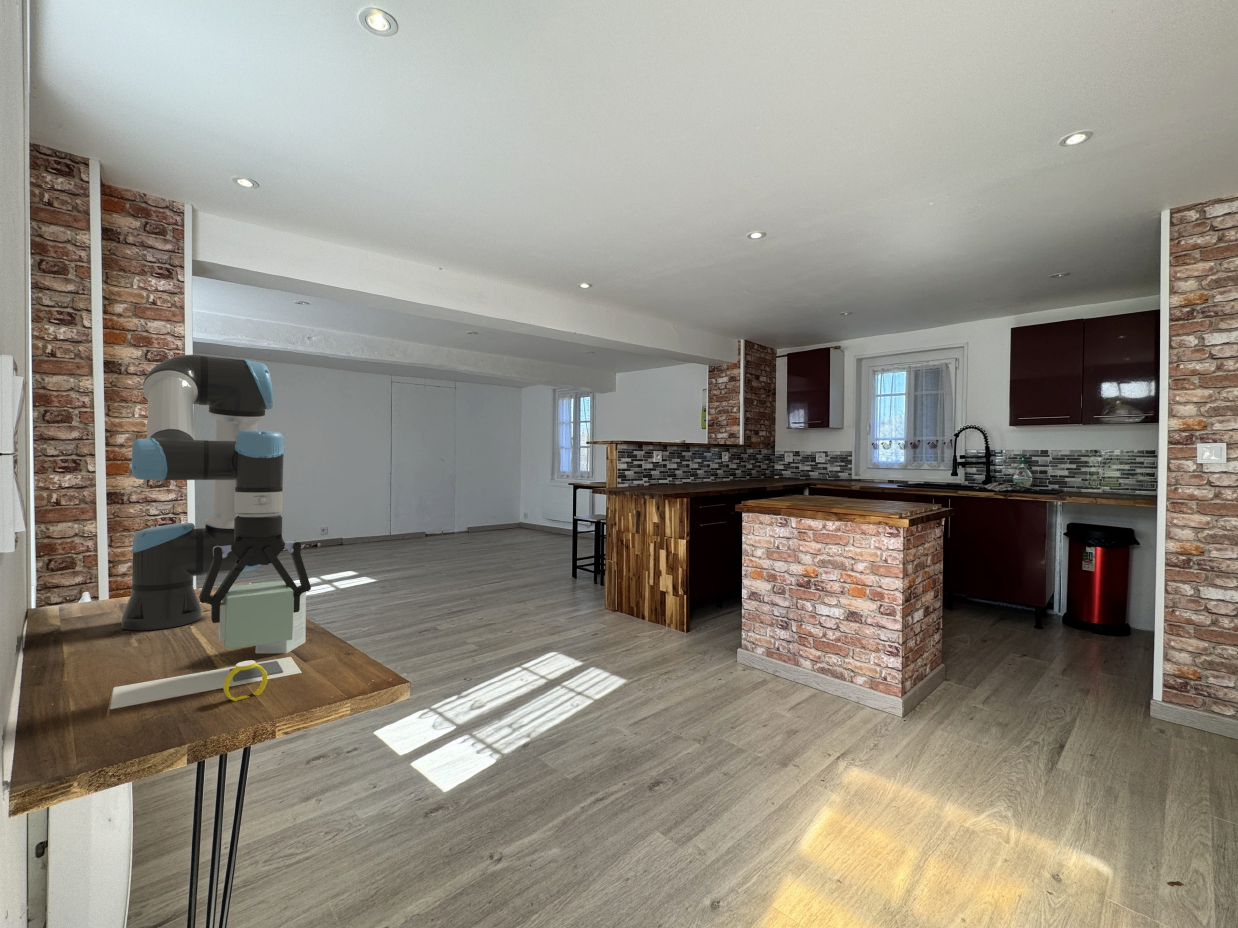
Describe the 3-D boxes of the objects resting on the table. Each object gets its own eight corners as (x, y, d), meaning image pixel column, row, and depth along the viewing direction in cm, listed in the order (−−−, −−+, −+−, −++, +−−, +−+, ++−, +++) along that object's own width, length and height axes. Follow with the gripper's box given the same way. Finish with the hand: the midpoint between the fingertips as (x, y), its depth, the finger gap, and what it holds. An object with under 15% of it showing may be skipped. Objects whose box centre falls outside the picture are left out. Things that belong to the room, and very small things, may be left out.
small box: (276, 642, 124) (277, 582, 125) (306, 642, 125) (307, 582, 125) (253, 655, 116) (255, 590, 116) (286, 655, 117) (287, 590, 117)
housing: (221, 635, 107) (222, 586, 107) (282, 626, 114) (283, 580, 114) (226, 649, 100) (227, 597, 100) (292, 639, 106) (293, 590, 106)
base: (113, 688, 98) (113, 685, 98) (290, 658, 115) (290, 655, 115) (109, 710, 89) (110, 706, 89) (301, 674, 106) (302, 670, 106)
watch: (228, 708, 92) (226, 671, 92) (222, 703, 94) (220, 667, 93) (270, 694, 96) (267, 659, 96) (263, 690, 98) (261, 655, 98)
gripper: (182, 519, 96) (180, 651, 97) (330, 513, 111) (328, 629, 111) (181, 515, 102) (179, 640, 103) (321, 510, 116) (319, 620, 117)
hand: (256, 634), depth 107 cm, fingers closed on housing, 10 cm apart
